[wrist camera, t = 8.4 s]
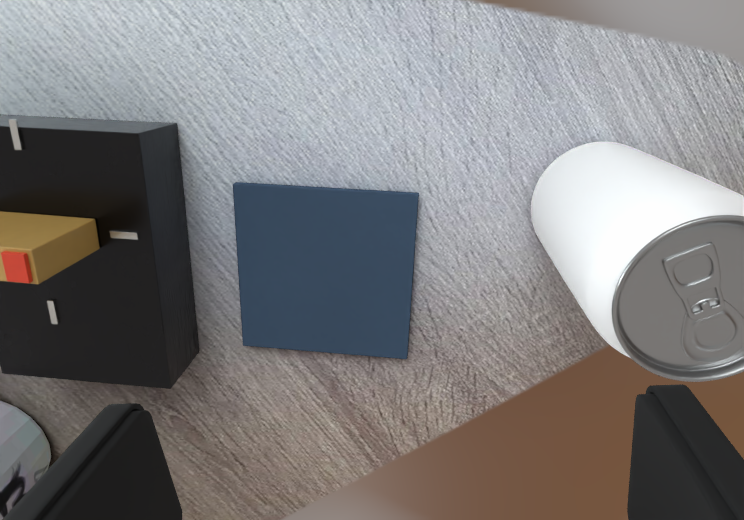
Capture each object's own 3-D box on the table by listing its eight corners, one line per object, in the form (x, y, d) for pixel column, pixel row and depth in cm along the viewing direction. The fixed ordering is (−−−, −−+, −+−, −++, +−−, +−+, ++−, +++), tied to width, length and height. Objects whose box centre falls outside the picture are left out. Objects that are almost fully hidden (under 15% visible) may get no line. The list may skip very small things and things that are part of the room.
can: (553, 278, 29) (634, 418, 18) (509, 173, 27) (568, 256, 16) (674, 231, 27) (847, 352, 16) (636, 116, 25) (801, 162, 14)
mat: (235, 181, 29) (232, 184, 28) (418, 192, 28) (418, 195, 27) (245, 341, 32) (242, 346, 32) (407, 355, 31) (407, 359, 31)
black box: (-25, 106, 28) (-96, 114, 25) (176, 116, 28) (135, 125, 24) (29, 337, 34) (-23, 373, 30) (199, 351, 33) (169, 391, 29)
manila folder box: (-21, 238, 27) (-110, 274, 22) (-29, 208, 26) (-120, 238, 22) (100, 248, 26) (34, 287, 22) (95, 218, 26) (27, 251, 21)
